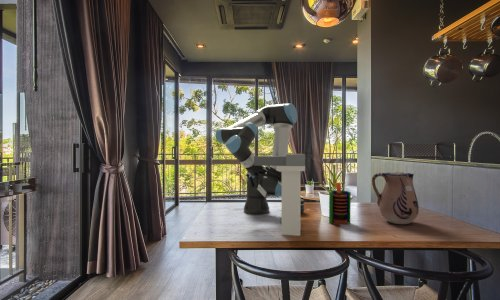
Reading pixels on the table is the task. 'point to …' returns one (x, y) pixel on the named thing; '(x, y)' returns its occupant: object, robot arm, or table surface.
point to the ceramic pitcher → (397, 197)
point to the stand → (291, 199)
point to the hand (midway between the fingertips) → (275, 191)
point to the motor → (339, 206)
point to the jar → (302, 206)
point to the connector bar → (280, 160)
